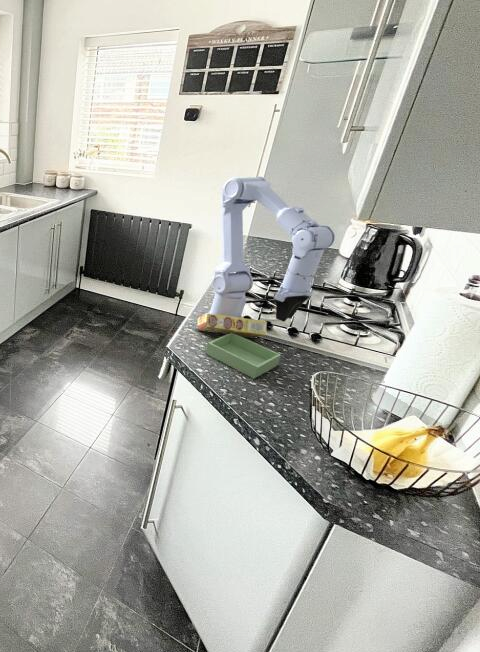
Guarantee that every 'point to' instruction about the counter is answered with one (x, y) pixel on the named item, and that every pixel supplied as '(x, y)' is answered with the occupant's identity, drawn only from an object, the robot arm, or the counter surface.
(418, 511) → the counter surface
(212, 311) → the robot arm
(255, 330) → the candy box
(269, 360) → the tray
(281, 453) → the counter surface
